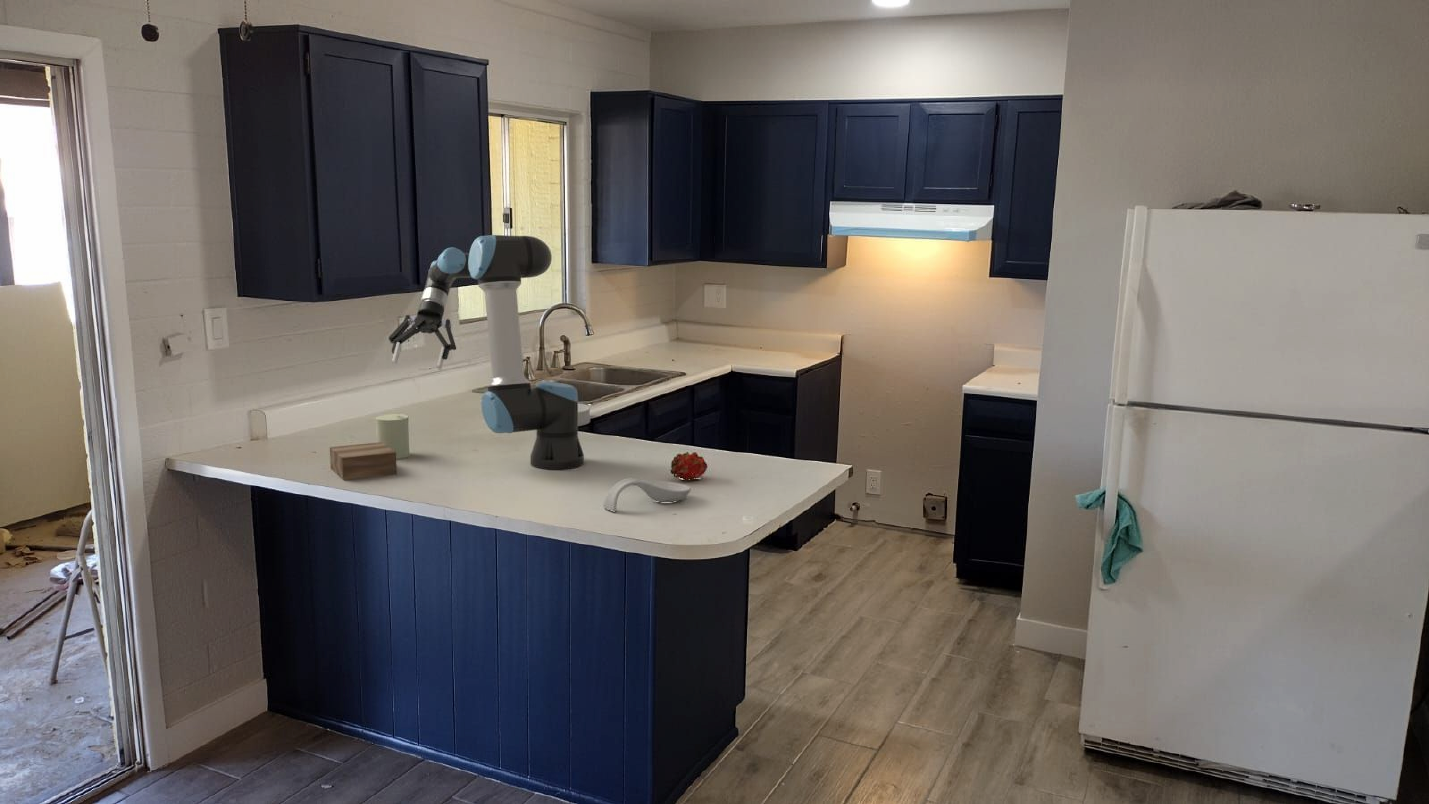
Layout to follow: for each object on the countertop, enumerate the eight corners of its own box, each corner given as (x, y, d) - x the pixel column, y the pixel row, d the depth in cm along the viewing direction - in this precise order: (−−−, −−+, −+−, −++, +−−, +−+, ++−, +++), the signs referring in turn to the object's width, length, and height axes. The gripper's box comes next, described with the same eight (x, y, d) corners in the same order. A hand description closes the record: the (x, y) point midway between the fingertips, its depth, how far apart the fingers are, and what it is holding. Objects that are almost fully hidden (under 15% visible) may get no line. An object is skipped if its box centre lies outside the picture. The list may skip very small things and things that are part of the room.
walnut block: (396, 473, 276) (396, 452, 274) (343, 480, 268) (342, 457, 267) (382, 462, 287) (381, 442, 286) (330, 468, 280) (329, 447, 278)
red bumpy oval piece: (666, 488, 274) (702, 488, 281) (683, 475, 268) (719, 476, 275) (660, 459, 277) (695, 460, 284) (676, 446, 271) (712, 447, 278)
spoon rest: (671, 492, 265) (671, 465, 264) (700, 502, 256) (700, 474, 255) (595, 507, 250) (595, 478, 249) (623, 518, 241) (623, 489, 240)
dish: (541, 431, 335) (541, 416, 334) (514, 419, 353) (514, 405, 352) (601, 424, 347) (601, 410, 346) (573, 413, 365) (573, 399, 364)
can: (400, 460, 290) (398, 419, 288) (370, 458, 292) (368, 417, 290) (415, 453, 299) (414, 413, 297) (386, 451, 301) (385, 411, 299)
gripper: (474, 316, 319) (460, 375, 309) (395, 308, 319) (378, 367, 309) (470, 303, 312) (455, 363, 302) (389, 295, 312) (372, 354, 303)
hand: (416, 365), depth 306 cm, fingers open, 13 cm apart
